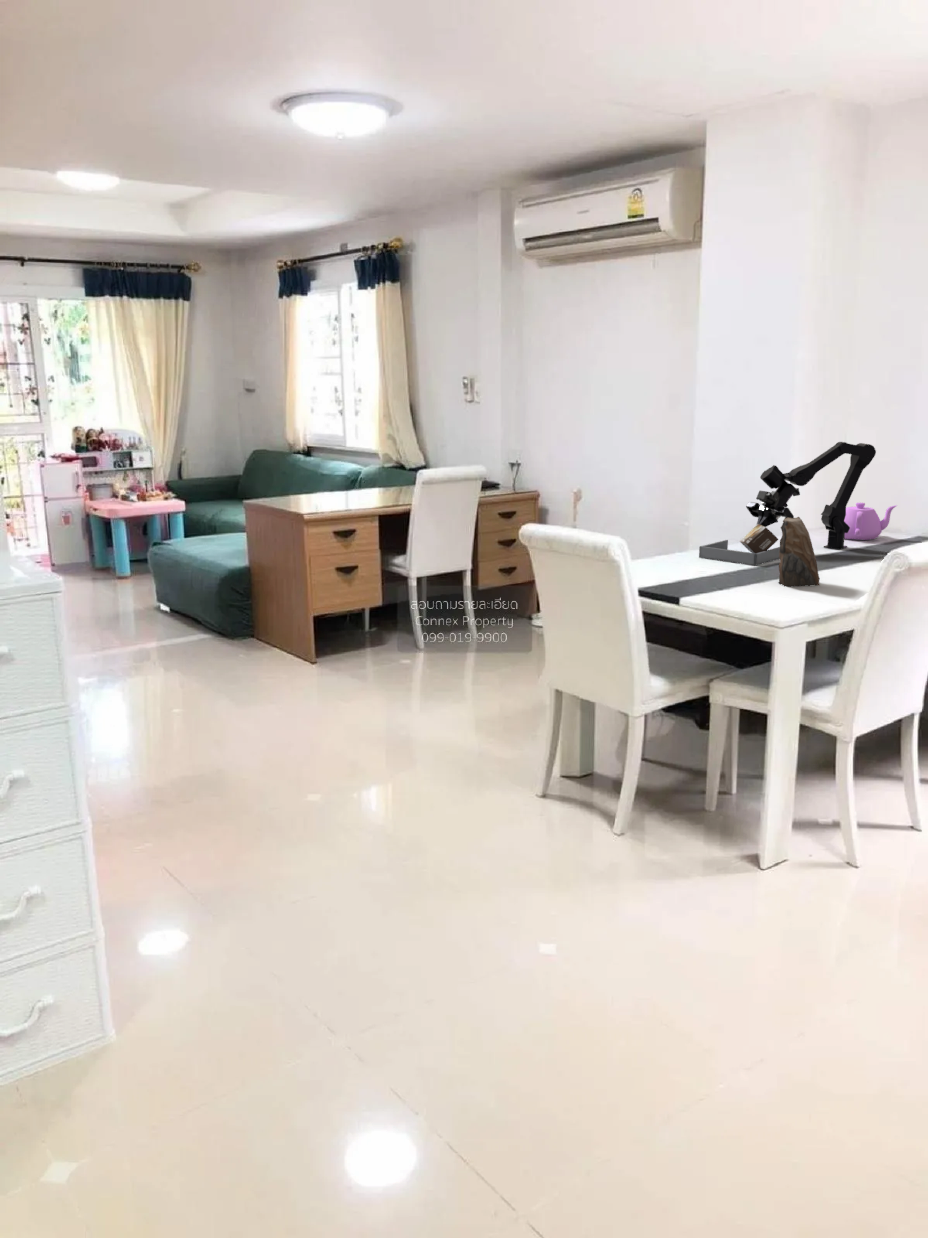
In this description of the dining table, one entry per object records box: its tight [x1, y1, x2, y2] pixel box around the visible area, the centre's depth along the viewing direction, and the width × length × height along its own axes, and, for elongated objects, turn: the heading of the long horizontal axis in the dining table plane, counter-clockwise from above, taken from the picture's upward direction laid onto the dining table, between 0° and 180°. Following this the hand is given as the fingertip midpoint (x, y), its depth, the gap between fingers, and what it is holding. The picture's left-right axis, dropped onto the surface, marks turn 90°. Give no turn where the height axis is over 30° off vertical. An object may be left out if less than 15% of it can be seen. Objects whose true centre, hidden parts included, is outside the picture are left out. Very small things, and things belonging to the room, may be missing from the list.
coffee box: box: [739, 523, 780, 554], centre depth 345 cm, size 9×6×16 cm
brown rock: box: [777, 516, 820, 588], centre depth 304 cm, size 13×13×20 cm
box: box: [698, 539, 780, 567], centre depth 344 cm, size 18×22×4 cm
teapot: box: [844, 502, 898, 541], centre depth 379 cm, size 22×22×14 cm
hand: (756, 529), depth 352 cm, fingers closed
